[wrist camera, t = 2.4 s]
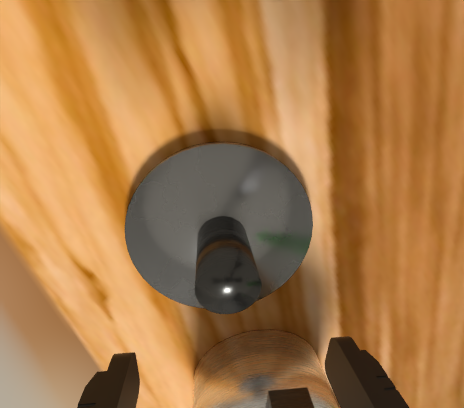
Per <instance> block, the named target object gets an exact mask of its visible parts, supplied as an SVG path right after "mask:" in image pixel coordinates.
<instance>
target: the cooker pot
mask: <svg viewBox="0 0 464 408" xmlns="http://www.w3.org/2000/svg"><path fill="white" fill-rule="evenodd" d="M193 408H339V406H338V404H337V401H336V399H335V397H334V394H333V392H332V390H331V387H330V385H329V383H328V380H327V378H326V376H325V373H324V371H323V369H322V367H321V364H320V362H319V360H318V357H317V355H316V353H315V351H314V349H313V348H312V346H311V345H310V344H309V343H308V342H307V341H305V340H304V339H302V338H301V337H299V336H297V335H295V334H292V333H289V332H284V331H279V330H256V331H250V332H245V333H241V334H238V335H235V336H233V337H230V338H228V339H226V340H224V341H222V342H220V343H219V344H217V345H216V346H214V347H213V348H212V349H210V350H209V351H208V352H207V353H206V354H205V355H204V356H203V357H202V359H201V360H200V362H199V363H198V365H197V368H196V370H195V374H194V392H193Z"/></svg>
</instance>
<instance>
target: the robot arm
mask: <svg viewBox="0 0 464 408" xmlns="http://www.w3.org/2000/svg"><path fill="white" fill-rule="evenodd" d="M325 370H326V374H327V378H328V380H329V382H330V384H331V387H332V389H333V391H334V393H335V396H336V398H337V400H338V402H339V404H340V407H341V408H409V406H408V405H407V403H406V402H405V401H404V399H403V398H402V396H401V395H400V393H399V392H398V390H396V388H395V386H394V384H393V383H392V381H391V380H390V378H388V376H387V374H386V372H385V371H384V369H383V368H382V367H381V365H380V364H379V362H378V361H377V360H376V359H375V358H374V357H373V356H371V355H370V354H369V353H368V352H367V351H366V350H359V348H358V347H357V345H356V343H355V342H354V340H353V339H352V338H351V337H335V338H331V339H330V343H329V347H328V351H327V355H326V359H325ZM139 385H140V379H139V372H138V366H137V360H136V354H135V353H121V354H114V355H113V357H112V359H111V362H110V364H109V367H108V370H107V371H103V372H97V373H96V374H95V375H94V377H93V378H92V379H91V380H90V382H89V383H88V384H87V385H86V387H85V389H84V391H83V393H82V396H81V399H80V401H79V403H78V407H77V408H136V404H137V399H138V394H139Z"/></svg>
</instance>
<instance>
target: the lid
mask: <svg viewBox="0 0 464 408" xmlns="http://www.w3.org/2000/svg"><path fill="white" fill-rule="evenodd" d="M312 228H313V221H312V211H311V206H310V202H309V200H308V197H307V194H306V192H305V190H304V188H303V187H302V185H301V183H300V182H299V181H298V179H297V178H296V177H295V175H294V174H293V173H292V172H291V171H290V170H289V169H288V168H287V167H286V166H285V165H283V164H282V163H281V162H280V161H278V160H277V159H276V158H274V157H273V156H271V155H269V154H268V153H266V152H264V151H262V150H260V149H257V148H254V147H251V146H248V145H244V144H239V143H232V142H209V143H204V144H198V145H194V146H191V147H188V148H185V149H183V150H181V151H178V152H176V153H174V154H172V155H171V156H169V157H168V158H166V159H165V160H163V161H162V162H160V163H159V164H158V165H157V166H156V167H155V168H153V169H152V170H151V171H150V172H149V174H148V175H147V176H146V177H145V178H144V180H143V181H142V182H141V184H140V185H139V187H138V188H137V190H136V192H135V193H134V195H133V197H132V199H131V202H130V204H129V207H128V211H127V215H126V221H125V239H126V244H127V249H128V252H129V255H130V257H131V260H132V262H133V264H134V265H135V267H136V269H137V271H138V272H139V273H140V274H141V276H142V277H143V278H144V279H145V280H146V281H147V282H148V283H149V284H150V285H151V286H152V287H153V288H154V289H156V290H157V291H158V292H160V293H161V294H163V295H165V296H166V297H168V298H170V299H172V300H174V301H177V302H179V303H182V304H185V305H188V306H193V307H198V308H206V309H207V310H209V311H211V312H214V313H219V314H232V313H237V312H240V311H242V310H244V309H246V308H248V307H249V306H251V305H252V304H253V303H254V302H255V301H257V300H259V299H262V298H263V297H265V296H267V295H269V294H271V293H272V292H274V291H275V290H276V289H278V288H279V287H281V286H282V285H283V284H284V283H285V282H286V281H287V280H288V279H289V278H290V277H291V276H292V275H293V274H294V273H295V271H296V270H297V269H298V267H299V266H300V264H301V263H302V261H303V259H304V257H305V255H306V253H307V250H308V248H309V245H310V241H311V237H312Z"/></svg>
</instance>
